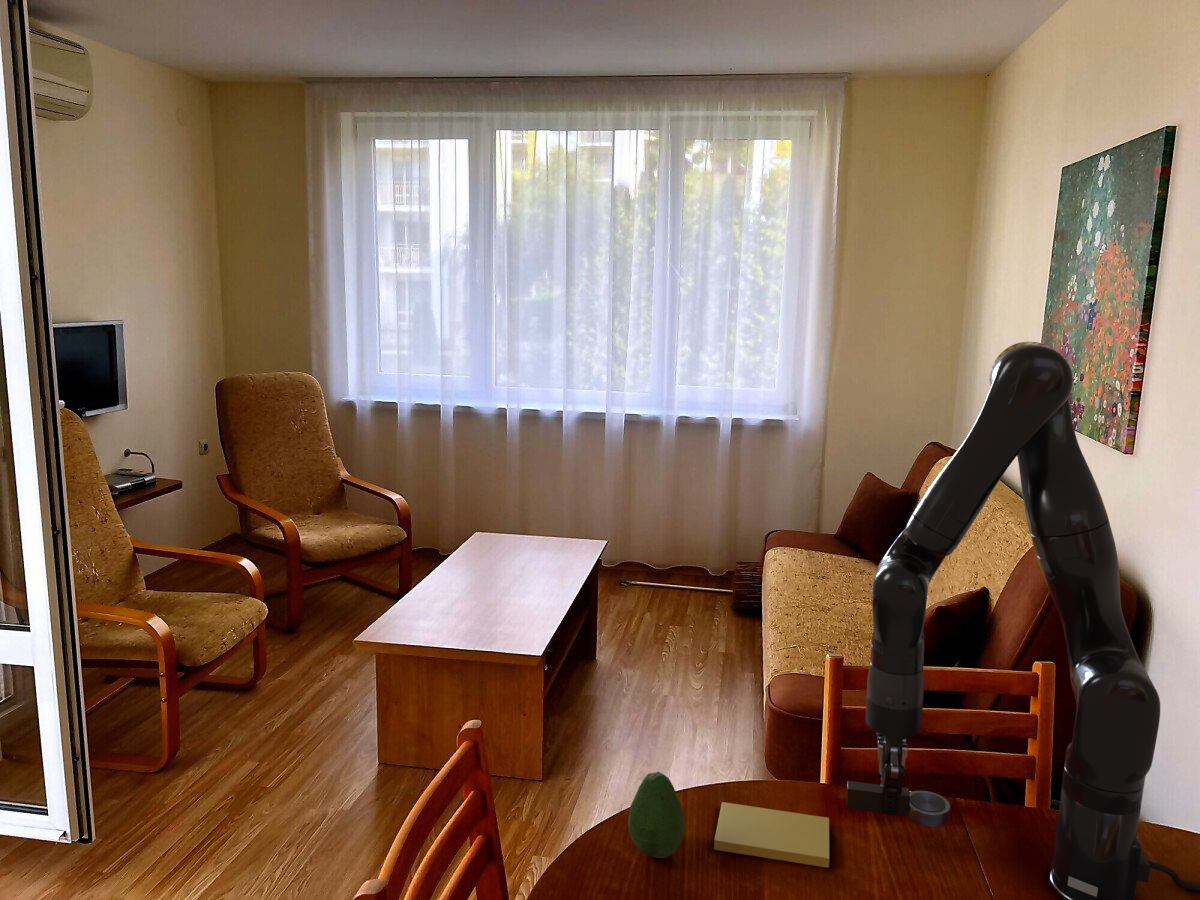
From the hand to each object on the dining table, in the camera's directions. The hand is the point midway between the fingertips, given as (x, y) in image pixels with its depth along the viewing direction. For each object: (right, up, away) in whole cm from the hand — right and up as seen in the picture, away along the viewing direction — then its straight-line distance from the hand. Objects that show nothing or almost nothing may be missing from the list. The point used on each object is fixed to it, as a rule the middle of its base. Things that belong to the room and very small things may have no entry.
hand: (888, 807), depth 130 cm
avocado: (-33, -6, -1) cm, 34 cm away
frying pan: (+1, 0, 0) cm, 1 cm away
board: (-16, -6, +3) cm, 17 cm away
